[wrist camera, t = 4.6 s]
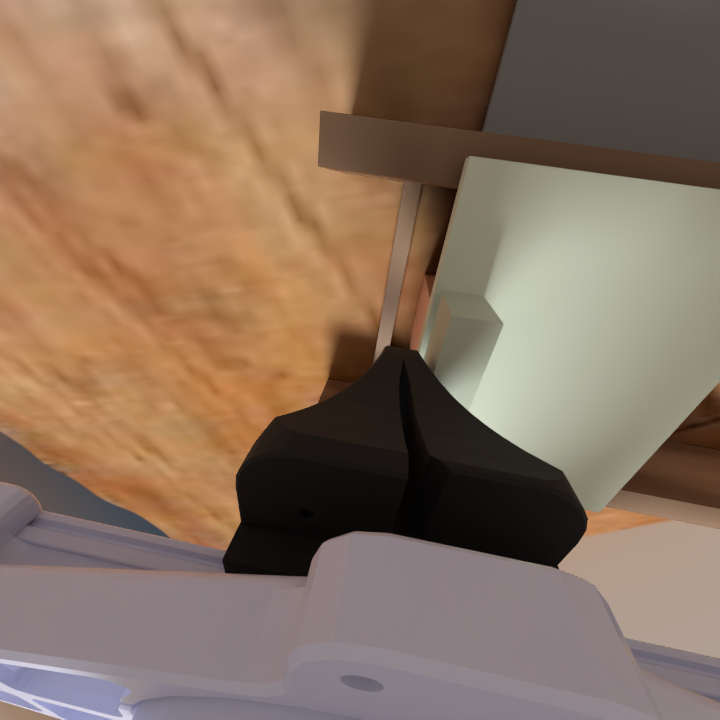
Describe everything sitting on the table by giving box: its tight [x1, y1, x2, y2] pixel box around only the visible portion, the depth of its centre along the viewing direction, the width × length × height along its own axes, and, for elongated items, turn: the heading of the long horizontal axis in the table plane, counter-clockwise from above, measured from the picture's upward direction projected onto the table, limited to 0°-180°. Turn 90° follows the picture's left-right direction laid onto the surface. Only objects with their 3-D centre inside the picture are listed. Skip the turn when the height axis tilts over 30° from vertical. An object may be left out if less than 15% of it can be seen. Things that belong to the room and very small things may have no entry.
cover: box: [417, 156, 720, 512], centre depth 11 cm, size 14×11×3 cm
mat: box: [482, 0, 720, 163], centre depth 11 cm, size 9×14×1 cm, turn 83°
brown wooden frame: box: [318, 111, 720, 529], centre depth 15 cm, size 16×28×5 cm, turn 83°
